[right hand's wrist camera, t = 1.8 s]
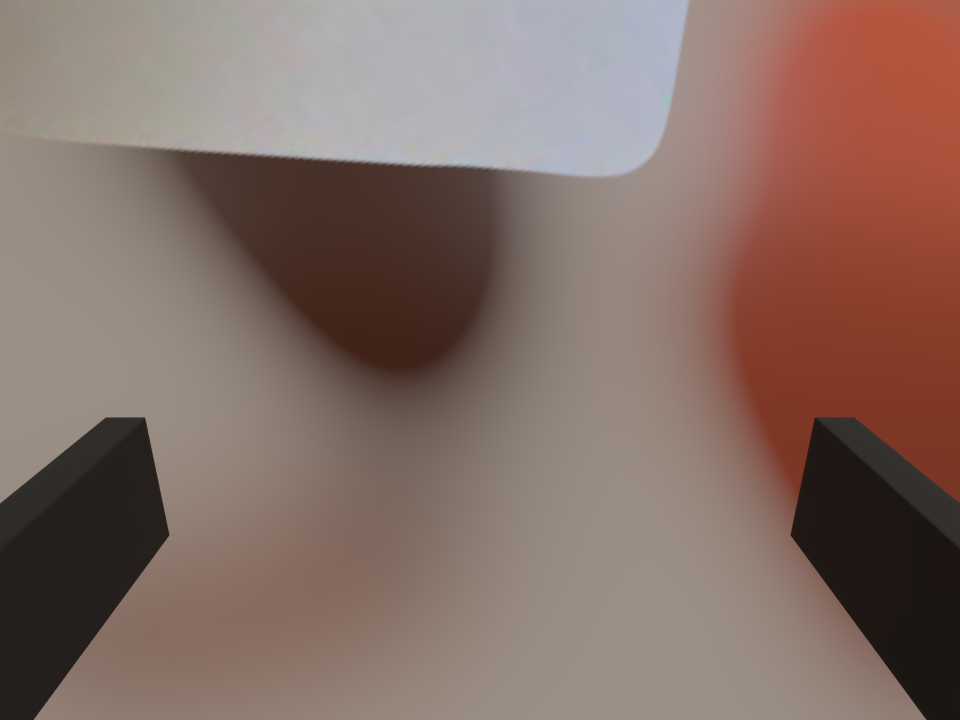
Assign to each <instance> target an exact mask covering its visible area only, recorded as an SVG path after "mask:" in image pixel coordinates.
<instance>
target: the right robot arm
mask: <svg viewBox="0 0 960 720" xmlns="http://www.w3.org/2000/svg"><path fill="white" fill-rule="evenodd" d="M168 536H169V531H168V526H167V521H166V516H165V512H164V507H163V502H162V497H161V492H160V488H159V483H158V478H157V473H156V468H155V463H154V459H153V454H152V449H151V444H150V439H149V434H148V430H147V425H146V420H145V418H105V419H104V420H102V421H101V422H100V423H99V424H97V425H96V426H95V427H94V428H93V429H91V430H90V431H89V432H88V433H86V434H85V435H84V436H83V437H81V438H80V439H79V440H78V441H77V442H75V443H74V444H73V445H72V446H70V447H69V448H68V449H67V450H65V451H64V452H63V453H62V454H61V455H59V456H58V457H57V458H56V459H54V460H53V461H52V462H51V463H49V464H48V465H47V466H46V467H45V468H43V469H42V470H41V471H40V472H38V473H37V474H36V475H35V476H33V477H32V478H31V479H30V480H29V481H27V482H26V483H25V484H24V485H22V486H21V487H20V488H19V489H18V490H16V491H15V492H14V493H13V494H11V495H10V496H9V497H8V498H6V499H5V500H4V501H3V502H2V503H0V720H34V718H35V717H36V716H37V714H38V713H39V712H40V710H41V709H42V707H43V706H44V705H45V703H46V702H47V701H48V699H49V698H50V697H51V695H52V694H53V693H54V691H55V690H56V689H57V687H58V686H59V684H60V683H61V682H62V680H63V679H64V678H65V676H66V675H67V674H68V672H69V671H70V669H71V668H72V667H73V665H74V664H75V663H76V661H77V660H78V659H79V657H80V656H81V655H82V653H83V652H84V650H85V649H86V648H87V646H88V645H89V644H90V642H91V641H92V640H93V638H94V637H95V636H96V634H97V633H98V631H99V630H100V629H101V627H102V626H103V625H104V623H105V622H106V621H107V619H108V618H109V617H110V615H111V614H112V612H113V611H114V610H115V608H116V607H117V606H118V604H119V603H120V602H121V600H122V599H123V598H124V596H125V595H126V593H127V592H128V591H129V589H130V588H131V587H132V585H133V584H134V583H135V581H136V580H137V579H138V577H139V576H140V574H141V573H142V572H143V570H144V569H145V568H146V566H147V565H148V564H149V562H150V561H151V559H152V558H153V557H154V555H155V554H156V553H157V551H158V550H159V549H160V547H161V546H162V545H163V543H164V542H165V540H166V539H167V538H168ZM791 536H792V538H793V539H794V540H795V542H796V543H797V545H798V546H799V547H800V549H801V550H802V551H803V553H804V554H805V555H806V557H807V558H808V560H809V561H810V562H811V564H812V565H813V566H814V568H815V569H816V570H817V572H818V573H819V574H820V576H821V577H822V578H823V580H824V581H825V583H826V584H827V585H828V587H829V588H830V589H831V591H832V592H833V593H834V595H835V596H836V598H837V599H838V600H839V602H840V603H841V604H842V606H843V607H844V608H845V610H846V611H847V612H848V614H849V615H850V616H851V618H852V619H853V621H854V622H855V623H856V625H857V626H858V627H859V629H860V630H861V631H862V633H863V634H864V636H865V637H866V638H867V640H868V641H869V642H870V644H871V645H872V646H873V648H874V649H875V651H876V652H877V653H878V655H879V656H880V657H881V659H882V660H883V661H884V663H885V664H886V665H887V667H888V668H889V670H890V671H891V672H892V674H893V675H894V676H895V678H896V679H897V680H898V682H899V683H900V684H901V686H902V687H903V688H904V690H905V691H906V693H907V694H908V695H909V697H910V698H911V699H912V701H913V702H914V703H915V705H916V706H917V708H918V709H919V710H920V712H921V713H922V714H923V716H924V717H925V718H926V720H960V503H958V502H957V501H956V500H955V499H954V498H952V497H951V496H950V495H949V494H947V493H946V492H945V491H944V490H942V489H941V488H940V487H939V486H937V485H936V484H935V483H934V482H933V481H931V480H930V479H929V478H928V477H927V476H925V475H924V474H923V473H922V472H920V471H919V470H918V469H917V468H915V467H914V466H913V465H912V464H911V463H909V462H908V461H907V460H906V459H904V458H903V457H902V456H901V455H899V454H898V453H897V452H896V451H895V450H893V449H892V448H891V447H890V446H888V445H887V444H886V443H885V442H883V441H882V440H881V439H880V438H879V437H877V436H876V435H875V434H874V433H872V432H871V431H870V430H869V429H867V428H866V427H865V426H864V425H863V424H861V423H860V422H859V421H858V420H856V419H855V418H815V420H814V425H813V429H812V434H811V439H810V444H809V449H808V454H807V458H806V463H805V468H804V473H803V478H802V483H801V487H800V492H799V497H798V502H797V507H796V512H795V516H794V521H793V526H792V531H791Z"/></svg>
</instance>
